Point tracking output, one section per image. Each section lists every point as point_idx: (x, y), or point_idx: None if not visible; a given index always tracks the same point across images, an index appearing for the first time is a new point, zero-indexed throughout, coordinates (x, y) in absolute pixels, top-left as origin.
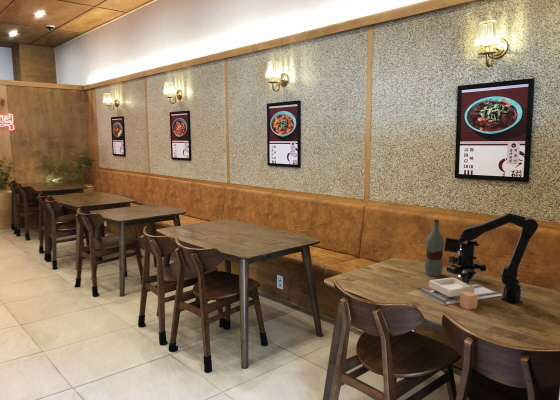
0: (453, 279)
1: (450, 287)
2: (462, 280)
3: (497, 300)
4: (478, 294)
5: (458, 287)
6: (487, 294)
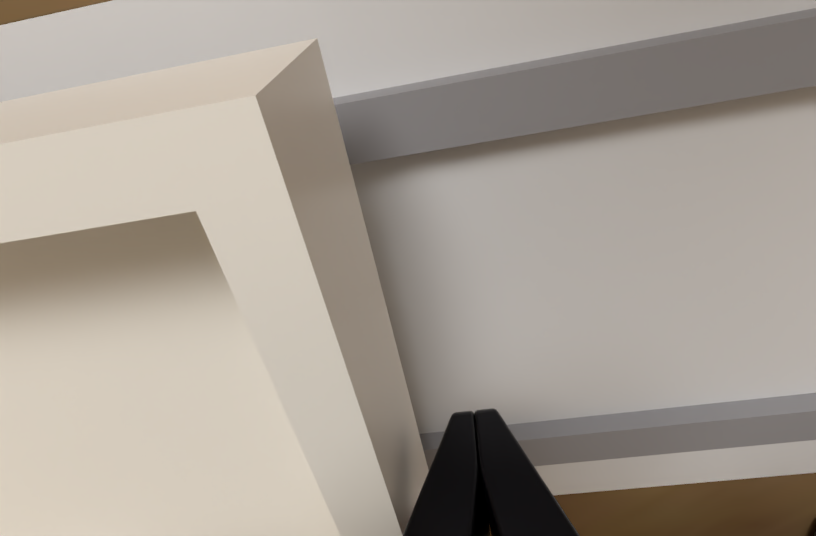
0: (228, 243)
1: (65, 460)
2: (410, 521)
3: (737, 527)
4: (615, 439)
5: (249, 480)
6: (779, 435)
